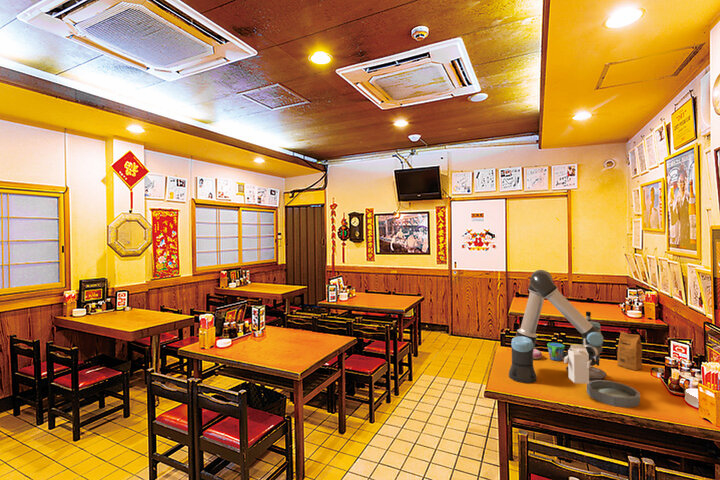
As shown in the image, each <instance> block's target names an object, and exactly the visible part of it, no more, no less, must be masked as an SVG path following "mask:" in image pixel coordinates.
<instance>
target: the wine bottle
mask: <svg viewBox="0 0 720 480" xmlns="http://www.w3.org/2000/svg"><path fill="white" fill-rule="evenodd" d="M591 315H592V312H591V311H585V316H586V317H585V318H586V319H587V320H588V321H592V320H591V319H592V316H591ZM581 345H585V337H584V336H583V335H582V334H581Z"/></svg>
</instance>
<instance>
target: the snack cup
mask: <svg viewBox="0 0 720 480" xmlns="http://www.w3.org/2000/svg"><path fill="white" fill-rule="evenodd" d="M565 347H566V346H565V345H564V344H562V343H559V342H548V343H547V350H548V355H549V358H550V360H551V361H552V360H553V361H557V362H561V361H562V360H564V358H563V353H565V352H564V351H565V349H566V348H565Z"/></svg>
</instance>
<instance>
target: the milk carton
mask: <svg viewBox="0 0 720 480" xmlns="http://www.w3.org/2000/svg"><path fill="white" fill-rule="evenodd" d="M567 352H568V362H567V363H568V365H567V366H568V371H569V373H568V379H569V380H571V382H573V384H586V385H587V384H589V368H587V362H588V361H589V354H588V352H587V350H586V347H585V345H582V344H570V347H569V349H568V350H567Z"/></svg>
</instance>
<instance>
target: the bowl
mask: <svg viewBox="0 0 720 480" xmlns="http://www.w3.org/2000/svg"><path fill="white" fill-rule="evenodd" d="M586 393H587V395H588V396H589V397H590V398H591V399H593V400H595V401H597V402H599V403H601V404H605V405H609V406H613V407H619V408H634V407H639V405H640V403H641V393H640V392H639V391H638V390H637V389H636V388H634V387H632V386H630V385H627V384H625V383H620V382H616V381H613V380H604V379H602V380H594V381H589V384H586Z"/></svg>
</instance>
